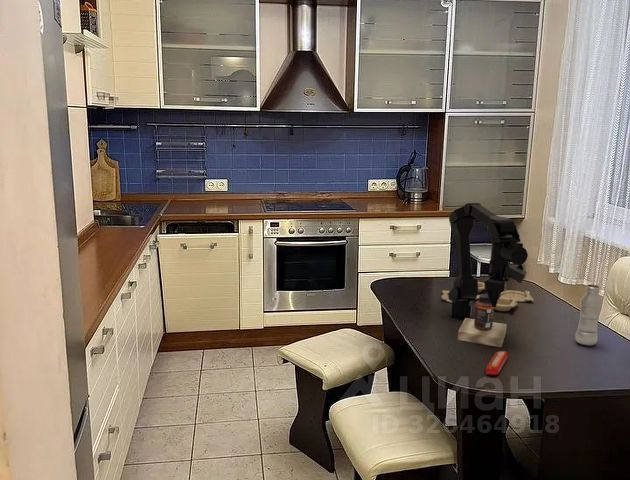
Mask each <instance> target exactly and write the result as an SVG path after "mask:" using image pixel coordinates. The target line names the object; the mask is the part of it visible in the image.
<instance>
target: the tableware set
mask: <svg viewBox="0 0 630 480" xmlns="http://www.w3.org/2000/svg"><path fill="white" fill-rule="evenodd" d="M484 284H485V282H481V281H478V294H479V293H481V292H482V291H483V290H486V289H485V288H484ZM449 292H450V290H444V289H442V290H441V293H442V295H441V296H440V297H441V299H442V301H445V302H448V303H451V304H452V301H450V300H449V298H448V293H449ZM478 294H477V297H476V300H480V299H479V296H480V295H481V294H479V295H478ZM534 300H535V299H534V298H533V297H532V295H531V293H530V290H525V291H519V290H507V289H506V288H505V290H504V291H503V292H501V295H500V298H499V299H498V301H497V305H496V307H494V310H496V311H498V312H509V311H510V310H511V309H512V308H515V307H516V306H518V303H524V302H529V301H531V302H534ZM472 303H473V301H472V302H471V304H472Z"/></svg>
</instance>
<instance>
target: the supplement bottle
mask: <svg viewBox="0 0 630 480" xmlns="http://www.w3.org/2000/svg"><path fill="white" fill-rule="evenodd" d="M479 295H480V296H479V299H477V301H475V309H474V318H473V319H474V326H475V327H476V328H477V329H480V330H490V329H491V328H492V324H493V322H494V312H495V311H494V310H495V309H494V307H492V305H491V302H490V299H489V296H488V294H487V293H482V294H479Z"/></svg>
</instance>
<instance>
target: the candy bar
mask: <svg viewBox="0 0 630 480" xmlns="http://www.w3.org/2000/svg"><path fill="white" fill-rule="evenodd" d="M508 354H509V353H508V352H507V351H504V350H503V351H496V352H495V353H494V355H493V356H492V358H491V359H490V361H489V362H488V364H487V366H486V367H485V375H487V376H497V375H499V373H500V372H501V370H503V369H502V368H503V367H504V366H505V363H506V362H507V360H508Z"/></svg>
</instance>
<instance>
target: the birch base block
mask: <svg viewBox="0 0 630 480" xmlns="http://www.w3.org/2000/svg"><path fill="white" fill-rule="evenodd" d="M474 319H475V318H471V317H469V318H465V319H463V320H462V321H463V322H462V323H461V325H460V327H459V329H458V331H457V341H461V342H462V341H463V342H468V343H474V344H480V345H486V346H492V347H498V348H502V347H503V344H504V340H505V338H506V337H505V336H506V333H507V325H508V324H507V323H502V322H494V321H493V324H492V328H491V329H490V330H480V329H477V328H476V327H475V326H474Z"/></svg>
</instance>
